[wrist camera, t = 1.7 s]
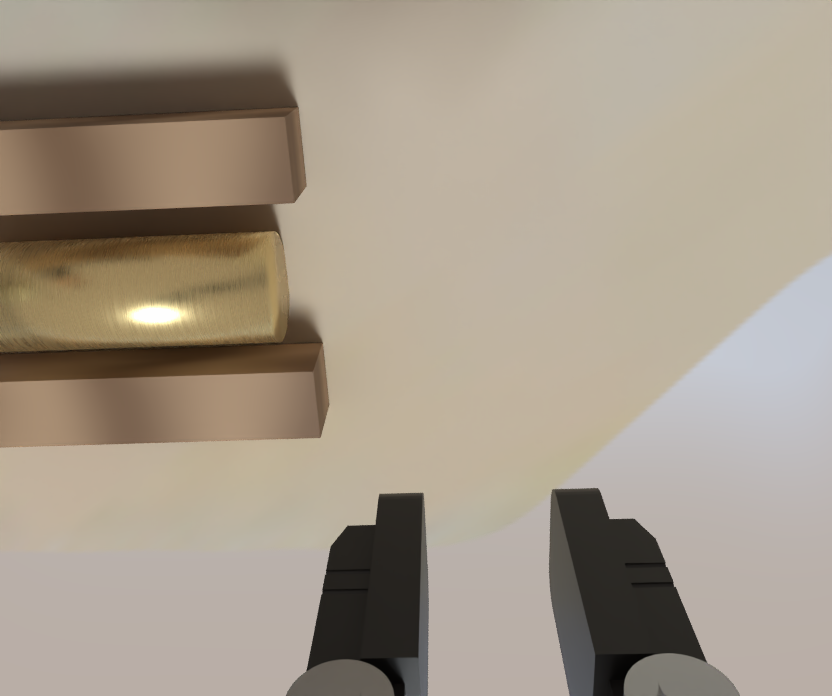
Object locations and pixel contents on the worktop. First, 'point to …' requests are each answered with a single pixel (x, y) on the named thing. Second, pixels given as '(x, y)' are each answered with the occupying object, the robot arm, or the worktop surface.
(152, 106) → the worktop surface
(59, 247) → the axle
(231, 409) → the parallel bars
